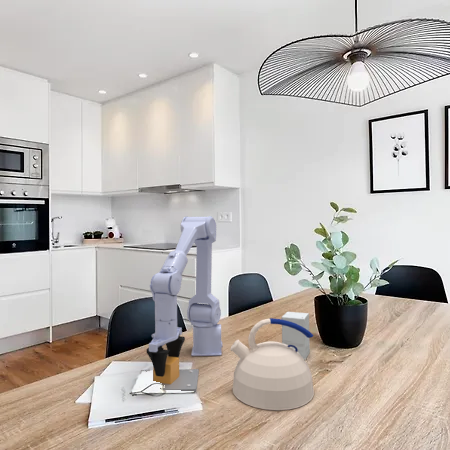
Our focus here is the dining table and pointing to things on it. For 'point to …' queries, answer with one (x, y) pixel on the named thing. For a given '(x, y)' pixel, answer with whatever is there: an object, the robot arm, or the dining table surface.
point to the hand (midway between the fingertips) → (166, 369)
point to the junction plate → (184, 381)
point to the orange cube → (169, 371)
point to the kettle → (272, 372)
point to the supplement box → (296, 332)
